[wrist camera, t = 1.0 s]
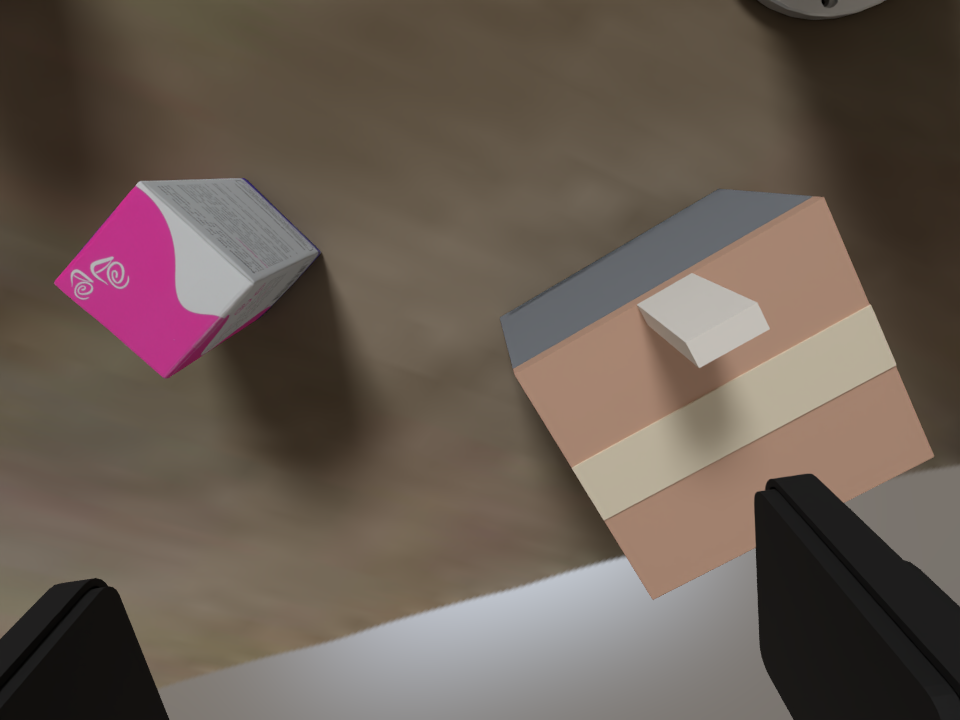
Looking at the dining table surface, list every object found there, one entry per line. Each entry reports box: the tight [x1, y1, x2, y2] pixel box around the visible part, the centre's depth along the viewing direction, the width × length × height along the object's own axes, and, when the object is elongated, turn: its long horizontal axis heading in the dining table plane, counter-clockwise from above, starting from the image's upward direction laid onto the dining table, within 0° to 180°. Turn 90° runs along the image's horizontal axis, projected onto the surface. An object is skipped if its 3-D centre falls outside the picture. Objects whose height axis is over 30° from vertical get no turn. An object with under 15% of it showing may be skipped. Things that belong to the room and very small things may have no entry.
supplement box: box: [54, 178, 321, 379], centre depth 30 cm, size 6×6×12 cm
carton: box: [500, 189, 812, 369], centre depth 33 cm, size 14×13×10 cm
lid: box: [513, 196, 934, 600], centre depth 25 cm, size 14×13×7 cm
